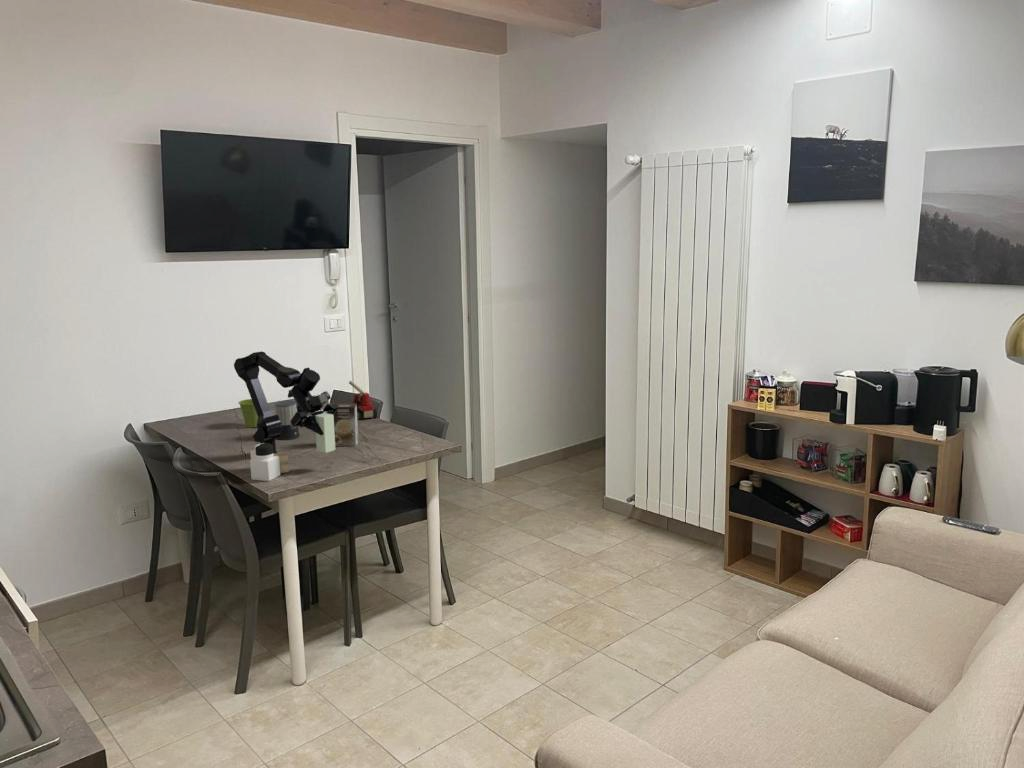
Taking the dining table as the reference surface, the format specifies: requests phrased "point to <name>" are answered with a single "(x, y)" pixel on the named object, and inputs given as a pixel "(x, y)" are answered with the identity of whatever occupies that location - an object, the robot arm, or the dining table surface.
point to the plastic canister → (252, 454)
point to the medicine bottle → (264, 463)
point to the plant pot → (249, 413)
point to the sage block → (325, 433)
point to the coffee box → (346, 425)
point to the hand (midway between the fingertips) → (327, 433)
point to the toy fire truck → (363, 404)
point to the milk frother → (287, 418)
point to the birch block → (283, 462)
